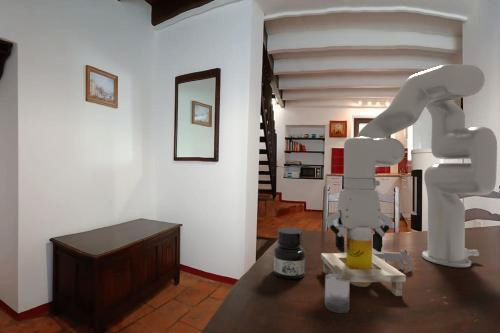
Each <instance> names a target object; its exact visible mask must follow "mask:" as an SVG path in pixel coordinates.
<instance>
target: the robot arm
mask: <svg viewBox="0 0 500 333" xmlns="http://www.w3.org/2000/svg"><path fill="white" fill-rule="evenodd" d="M485 81H486V78H485V74H484V72H483V70H482V69H481V68H479V67H478V66H476V65H473V64H462V63H461V64H459V63H457V64H456V63H455V64H454V63H451V64H448V63H447V64H443V65H439V66H436V67H433V68H430V69H427V70H424V71H420V72H418V73H415V74H412V75H410V76H409V77H408V78H406V80H404V82H403V83H402V85H401V86H400V88H399V89H398V91H397V93H396V95H395V96H394V98H393V99H392V101H391V102H390V104H389V106H388V107H387V108H386V109H385V110H384V111H382V112H381V113H380V114H378V115H377V116H375V117H374V118H373V119H372V120H370V121H369V122H368V123H366V124H365V125H364V126H363V127H362V129H361V130H360V131H359V132H358V134H357V135H356V136H355V137H350V138H349V137H348V139H346V140H344V144H343V189H340V191H339V194H338V201H337V206H336V208H337V210H336V212H335V213H332V214H331V215H329V216H327V217H325V221H326V223H327V226H328V228H329V229H330V230H331V231H332V232H333V233H334V234H335V247H336V249H337V250H338V251H339V253H345V237H344V236H343V234H345V233H346V232H347V229H356V228H357V227H369V228H370V229H372V232H373V233H372V250H374V251H376V252H377V253H381V252H382V248H383V237H385V236H386V233H387V232H388V231H389V229H390V227H391V225H392V223H393V218H391V217H389V216H388V215H385V214H384V213H382V211H381V202H380V197H379V192H378V190H376V188H377V187H379V186H380V185H381V182H380V180H377V178H376V166H377V167H390V166H395V165H397V164H399V163H401V162H402V161H403V159H405V155H406V148H405V145H404V144H403V143H402V142H401V141H400V140H399V139H396V138H393V137H390V136H391V135H394V134H396V133H399V132H402V131H403V130H405V129H407V128H410V127H411V126H413V125H415V124H416V122H417V121H418V120H419V119H420V116H421V115H422V113H423V111H424V109H425V108H426V109H427V110H428V113H429V114H430V117H431V142H430V144H431V145H430V147H431V148H430V149H431V154H432V156H433V157H435V158H436V159H440V160H466V159H467V160H468V159H469V160H470V163H466V162H462V163H458V162H452V163H450V162H444V163H437V164H433V165H430V166H428V167H427V168H426V169H425V170H424V177H423V178H424V180H423V181H424V184H425V185H424V186H425V189H426V195H427V250H423V251H422V252H421V256H422V258H423V259H425V260H427V261H428V262H431V263H433V264H438V265H441V266H444V267H445V266H447V267H453V268H469V267H471V266H472V260H470V258H469V257H478V256H480V252H479V250H478V249H468V248H466V247H465V246H466V244H465V243H466V242H465V238H466V236H465V234H466V230H465V229H466V225H465V224H466V221H465V220H466V208H465V206H464V203H463V201H462V200H461V199H460V197H459V196H458V195H471V196H472V195H473V196H486V195H487V196H488V195H489V194H491V193H493V191H494V190H495V187H496V183H497V165H498V164H497V162H498V160H497V159H498V142H497V138H496V134H495V133H494V131H493V130H492V129H490V128H489V127H486V126H473V127H466V115H465V114H466V113H465V112H464V109H462V108H461V107H460V106H459V104H456V103H455V102H454V101H453V100H457V99H461V98H465V97H470V96H475V95H476V94H478V93H479V92H480V91H481V90H482V89H483V87H484V85H485ZM382 220H383V224H382ZM335 221H336V223H337V226H335V224H334V222H335Z"/></svg>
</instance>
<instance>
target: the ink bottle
mask: <svg viewBox="0 0 500 333" xmlns="http://www.w3.org/2000/svg"><path fill="white" fill-rule="evenodd" d="M277 243H278V244H277V245H276V247H274V249H273V273H274V274H275V275H276V276H277V277H280V278H281V279H288V280H289V279H290V280H298V279H301V278H304V276H305V274H306V258H307V257H306V249H305V248H304V247H302V243H303V232H302V230H301V229H298V228H293V227H282V228H279V229H277Z"/></svg>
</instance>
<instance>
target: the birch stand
mask: <svg viewBox="0 0 500 333" xmlns="http://www.w3.org/2000/svg"><path fill="white" fill-rule="evenodd" d="M320 259H321V260H322V263H323V264H322V265H323V266H322V267H323V268H322V269H323V270H322V271H323V273H324V274H325V275H327V274H331V272H332V274H341V275H344V276H346V277H347V278H349V280H350V282H371V283H391V293H392V294H393V295H394V296H395V297H402V296H403V283H405V282H406V280H407V279H406V277H407V275H406V274H405V273H403V272H401V271H399V269H397V268H396V267H393V266H392V265H390V264H389V263H387V262H386V261H385V260H384V259H381V258H378V257H377V256H375V255H374V254H372V269H349V268H348V267H347V253H345V252H337V253H334V252H333V253H332V252H331V253H329V252H328V253H325V252H323V253H322V252H321V253H320Z"/></svg>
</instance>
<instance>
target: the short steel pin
mask: <svg viewBox="0 0 500 333" xmlns="http://www.w3.org/2000/svg"><path fill="white" fill-rule="evenodd" d="M350 284H351V283H350V280H349V278H347V277H346V276H344V275H341V274H334V273H330V274H325V275H324V307H325V308H326V309H327V310H329V311H330V312H332V313H338V314H346V313H348V312H349V311H350Z"/></svg>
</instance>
